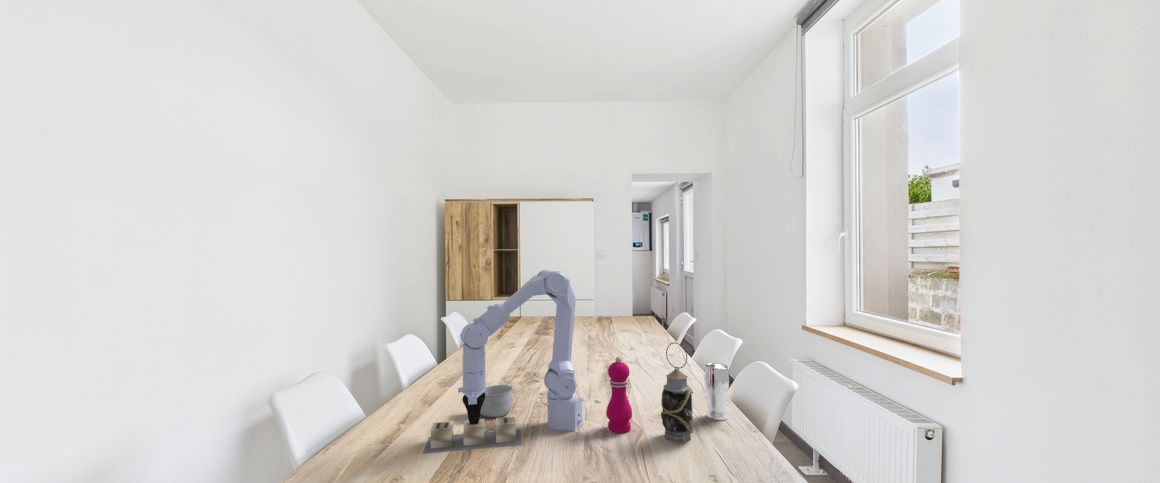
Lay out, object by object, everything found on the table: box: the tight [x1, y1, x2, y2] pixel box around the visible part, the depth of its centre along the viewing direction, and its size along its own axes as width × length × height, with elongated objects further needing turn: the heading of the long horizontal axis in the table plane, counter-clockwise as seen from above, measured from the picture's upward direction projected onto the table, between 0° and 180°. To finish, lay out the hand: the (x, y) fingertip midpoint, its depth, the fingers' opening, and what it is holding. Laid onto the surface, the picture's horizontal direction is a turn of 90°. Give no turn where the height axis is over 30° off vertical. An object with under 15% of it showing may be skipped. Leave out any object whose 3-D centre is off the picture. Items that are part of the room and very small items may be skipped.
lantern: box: [660, 342, 694, 444], centre depth 119 cm, size 9×8×25 cm
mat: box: [422, 429, 523, 454], centre depth 117 cm, size 24×10×1 cm, turn 100°
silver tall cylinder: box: [703, 362, 730, 421], centre depth 134 cm, size 7×7×15 cm
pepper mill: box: [605, 356, 633, 434], centre depth 125 cm, size 7×7×20 cm
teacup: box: [480, 383, 514, 419], centre depth 138 cm, size 14×11×8 cm
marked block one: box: [495, 416, 517, 443], centre depth 118 cm, size 5×5×5 cm
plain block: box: [463, 418, 486, 446], centre depth 117 cm, size 5×5×4 cm
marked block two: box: [430, 421, 455, 448], centre depth 115 cm, size 5×5×5 cm
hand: (474, 423), depth 117 cm, fingers closed, pressing on plain block
